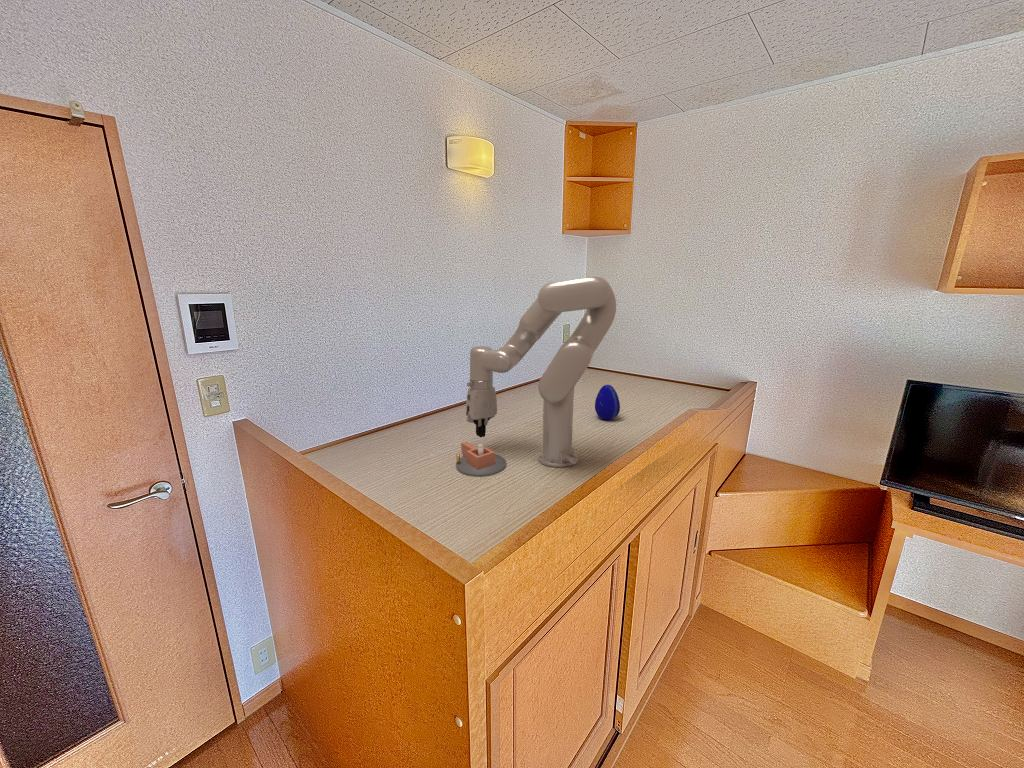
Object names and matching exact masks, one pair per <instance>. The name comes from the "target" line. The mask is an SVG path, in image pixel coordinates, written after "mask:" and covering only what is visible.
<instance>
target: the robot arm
mask: <svg viewBox="0 0 1024 768" xmlns="http://www.w3.org/2000/svg"><path fill="white" fill-rule="evenodd" d="M584 310H586V311H585V313H584V315H583V316H582V318H581V319H580V321H579V322H578V325H577V326H576V327H575V329H574V331H573V333H572V334H571V335H570V336H569V337H568V339H567V340H566V341H565V342H564V343H562V345H561V346H560V347H559V349H558V350H557V352H556V353H555V355H554V357H553V358H552V360H551V362H550V363H549V364H548V366H547V367H546V369H545V370H544V372H543V374H542V375H541V376H540V378H539V381H538V384H537V386H538V387H537V388H538V389H537V390H538V392H539V395H540V397H541V398H542V400H543V401H542V404H543V405H542V408H543V409H542V451H540V452H539V453H538V454H537V460H538V461H539V463H541V464H543V465H545V466H548V467H552V468H563V467H564V468H565V467H569V466H572V465H576V464H577V463H578V461H579V459H580V456H579V455H577V454H576V453H575V448H573V423H574V422H573V418H574V416H573V415H574V395H575V386H576V385H577V383H578V382H579V380H580V379H581V377H582V376H583V375H584V373H585V372H586V370H587V368H588V367H589V365H590V363H591V361H592V359H593V356H594V353H595V352H596V350H597V349H598V347H599V345H600V344H601V342H602V341H603V339H604V338H605V336H606V335H607V333H608V331H609V330H610V328H611V327H612V325H613V322H614V320H615V317H616V312H617V300H616V295H615V293H614V291H613V289H612V287H611V285H610V283H609V282H608V281H607V280H606V279H605V278H603V277H601V276H588V277H583V278H582V277H581V278H576V279H571V280H562V281H552V282H547V283H545V284H544V285H543V286H542V287H541V288H540V290H539V291H538V294H537V298H536V299H535V301H534V302H533V303H532V304H531V305H530V307H529V308H528V309H527V310H526V311H525V312H524V313H523V315H522V316H521V318H520V319H519V323H518V327H517V328H516V330H515V332H514V333H513V334H512V335H511V336H510V338H509V339H508V341H507V342H506V343H505V344H504V345H503V346H502V347H501V348H498V349H493V348H491V347H489V346H483V345H482V346H481V345H478V346H473V347H472V348H471V349H470V353H469V362H470V363H469V382H467V383H466V385H467V387H468V390H467V393H466V400H465V415H466V422H468V423H473V424H474V425H475V434H476V436H478V437H479V438H485V437H486V433H487V431H486V429H487V425H488V423H489V421H490V420H491V419H493V418H495V416H496V415H497V414H498V399H497V391H496V389H495V388H496V387H494V386H493V385H494V383H493V381H494V373H498V374H504V373H508V372H510V370H512V369H513V368H514V367H516V366H517V365H518V364H519V362H520V361H522V359H523V358H524V357H525V356H526V355H527V353H528V352H529V351H530V350H531V349H532V348H533V346H534V345H535V344H536V343H537V341H539V340H540V339H541V338H542V336H543V335H544V334H545V333H546V332H547V330H548V329H549V328H550V327H551V325H553V323H554V322H555V321H556V320H557V319H558V318H559V316H560V315H561V314H562V313H564V312H566V313H567V312H573V311H574V312H575V311H584Z"/></svg>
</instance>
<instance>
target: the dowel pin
mask: <svg viewBox="0 0 1024 768" xmlns="http://www.w3.org/2000/svg"><path fill="white" fill-rule="evenodd" d="M455 456H456V457H455V458H456V459H455V460H456V462H457V464H460V458H461V454H460V453H457V454H455Z"/></svg>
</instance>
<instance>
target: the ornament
mask: <svg viewBox="0 0 1024 768" xmlns="http://www.w3.org/2000/svg"><path fill="white" fill-rule="evenodd" d="M594 410H595V412H596V415H597V416H598V417H599V418H600V419H602V420H613V419H614V418H617V417H618V415H619V414H620V411H621V403H620V400H619V395H618V393H617V391H616V389H615V388H614V387H613V386H612V385H610V384H604V385H603V386H602V387H601V388H600V389H599V391H598V393H597V395H596V397H595V401H594Z"/></svg>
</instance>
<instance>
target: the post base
mask: <svg viewBox="0 0 1024 768" xmlns="http://www.w3.org/2000/svg"><path fill="white" fill-rule="evenodd" d="M483 446H484V445H483V444H482V443H478V445H477V448H478V456H480V455H483V454H484V449H483ZM506 467H507V461H506V459H505V458H504V457H503V456H501V455H498V454H496V453H495V464H494V465H491V466H488V467H485V468H482V469H479V470H477V469H476V468H474V467H473V466H471V465H470V464H468V463H467V460H466V456H464V455H462V457H460V464H457V461H456V462H455V469H456V471H458V472H459V473H460V474H462V475H465V476H468V477H469V476H470V477H478V478H479V477H481V478H482V477H489V476H493V475H496V474H499V473H501V472H502V471H504V470H505V468H506Z"/></svg>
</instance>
